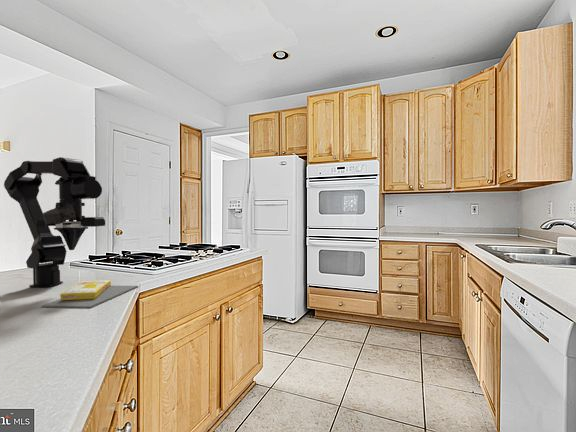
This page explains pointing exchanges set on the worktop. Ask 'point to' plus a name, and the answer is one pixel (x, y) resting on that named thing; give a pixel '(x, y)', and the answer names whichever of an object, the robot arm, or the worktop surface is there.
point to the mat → (89, 303)
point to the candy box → (85, 290)
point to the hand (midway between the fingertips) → (71, 249)
